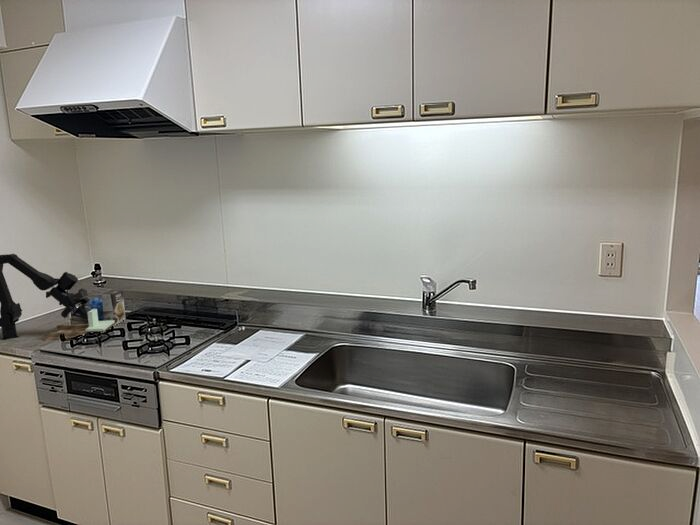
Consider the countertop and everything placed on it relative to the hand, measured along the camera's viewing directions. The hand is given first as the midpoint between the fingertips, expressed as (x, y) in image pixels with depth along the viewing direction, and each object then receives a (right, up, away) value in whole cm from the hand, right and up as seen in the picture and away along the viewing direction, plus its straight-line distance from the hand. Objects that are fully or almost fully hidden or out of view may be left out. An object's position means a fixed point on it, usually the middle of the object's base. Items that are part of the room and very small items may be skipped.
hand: (90, 318), depth 241 cm
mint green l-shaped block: (+4, -4, +1) cm, 6 cm away
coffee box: (+3, -4, +18) cm, 19 cm away
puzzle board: (-5, -7, +1) cm, 9 cm away
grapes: (-7, -4, +24) cm, 25 cm away
